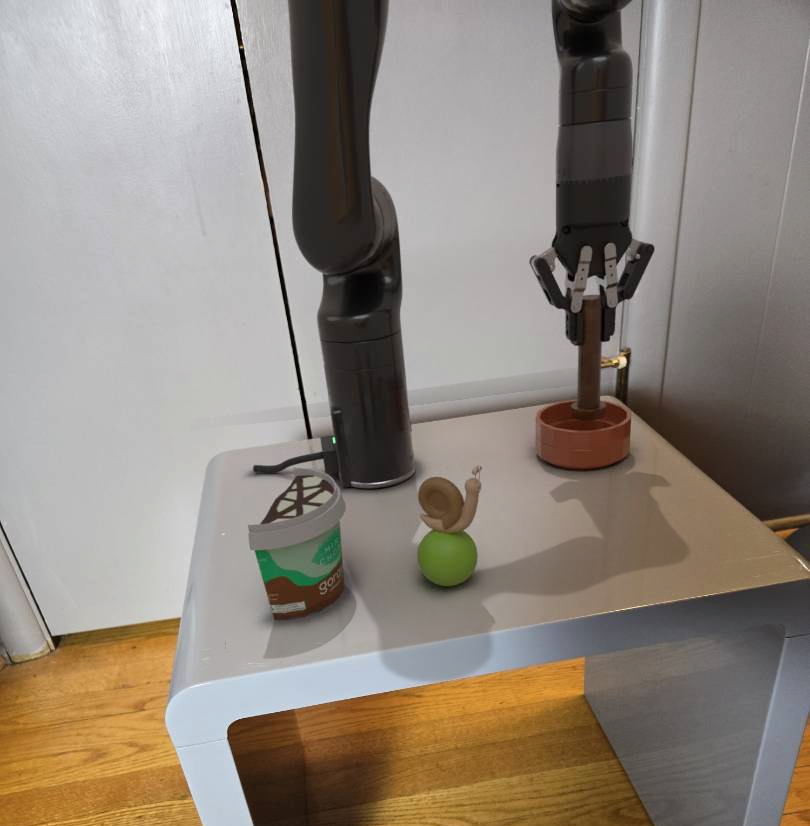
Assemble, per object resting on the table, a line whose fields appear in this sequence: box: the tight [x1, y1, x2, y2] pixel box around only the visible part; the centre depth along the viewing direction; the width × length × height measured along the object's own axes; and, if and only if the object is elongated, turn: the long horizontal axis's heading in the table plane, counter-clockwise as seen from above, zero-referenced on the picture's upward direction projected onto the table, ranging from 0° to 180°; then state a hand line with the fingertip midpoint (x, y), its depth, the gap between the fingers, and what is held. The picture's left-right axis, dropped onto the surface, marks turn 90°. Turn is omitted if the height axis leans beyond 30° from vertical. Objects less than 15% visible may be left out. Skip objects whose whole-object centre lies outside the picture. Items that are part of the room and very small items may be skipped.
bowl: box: [535, 399, 632, 470], centre depth 89 cm, size 11×11×5 cm
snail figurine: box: [416, 464, 483, 587], centre depth 65 cm, size 5×6×12 cm
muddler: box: [571, 294, 606, 420], centre depth 84 cm, size 4×4×14 cm
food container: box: [247, 467, 347, 620], centre depth 66 cm, size 12×6×10 cm, turn 168°
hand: (589, 341), depth 83 cm, fingers closed on muddler, 2 cm apart
